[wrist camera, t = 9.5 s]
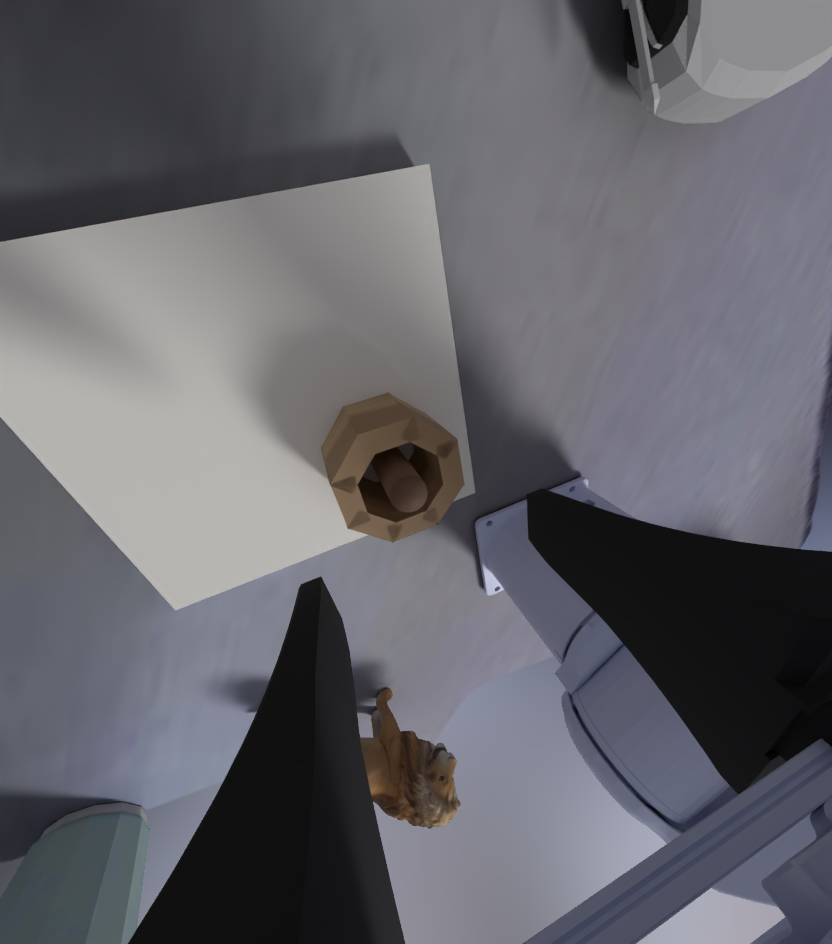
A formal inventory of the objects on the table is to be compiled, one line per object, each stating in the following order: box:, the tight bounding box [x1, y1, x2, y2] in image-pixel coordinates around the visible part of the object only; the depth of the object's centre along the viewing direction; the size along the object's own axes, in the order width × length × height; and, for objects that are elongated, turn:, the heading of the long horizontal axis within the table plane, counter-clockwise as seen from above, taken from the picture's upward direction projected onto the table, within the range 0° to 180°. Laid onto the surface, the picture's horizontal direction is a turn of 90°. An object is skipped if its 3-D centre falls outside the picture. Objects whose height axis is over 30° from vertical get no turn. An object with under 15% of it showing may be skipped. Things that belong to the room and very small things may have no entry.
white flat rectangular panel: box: [0, 164, 475, 610], centre depth 16 cm, size 18×16×1 cm
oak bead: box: [321, 392, 465, 542], centre depth 16 cm, size 6×6×4 cm
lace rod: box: [370, 447, 428, 512], centre depth 15 cm, size 2×2×6 cm
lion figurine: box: [360, 688, 460, 828], centre depth 25 cm, size 15×5×9 cm, turn 69°
